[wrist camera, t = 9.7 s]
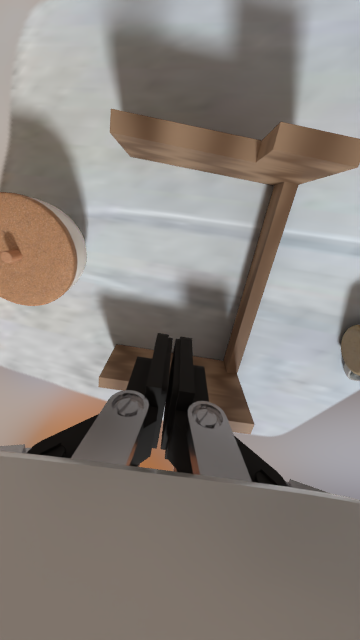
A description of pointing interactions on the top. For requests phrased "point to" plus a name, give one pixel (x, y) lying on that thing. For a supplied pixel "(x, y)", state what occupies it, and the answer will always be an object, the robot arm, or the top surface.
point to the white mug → (351, 352)
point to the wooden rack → (285, 174)
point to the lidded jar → (37, 251)
